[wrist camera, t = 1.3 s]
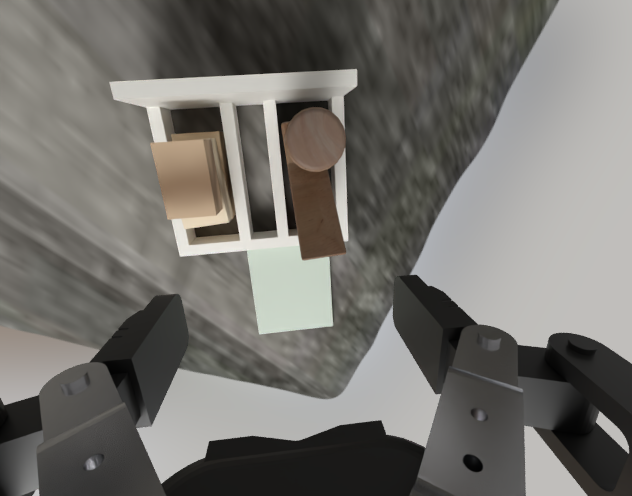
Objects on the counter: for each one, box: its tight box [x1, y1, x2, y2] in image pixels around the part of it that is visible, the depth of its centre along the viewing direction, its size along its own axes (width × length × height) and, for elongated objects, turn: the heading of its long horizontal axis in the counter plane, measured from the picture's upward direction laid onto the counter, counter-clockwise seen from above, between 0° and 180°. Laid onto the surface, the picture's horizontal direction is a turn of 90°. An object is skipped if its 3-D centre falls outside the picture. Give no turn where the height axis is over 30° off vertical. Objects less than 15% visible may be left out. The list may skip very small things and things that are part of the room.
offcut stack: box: [150, 131, 236, 229], centre depth 31 cm, size 9×5×9 cm, turn 4°
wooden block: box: [281, 107, 346, 261], centre depth 27 cm, size 4×11×18 cm, turn 8°
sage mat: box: [247, 246, 333, 334], centre depth 40 cm, size 12×10×1 cm
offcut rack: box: [110, 69, 357, 257], centre depth 31 cm, size 16×19×9 cm
